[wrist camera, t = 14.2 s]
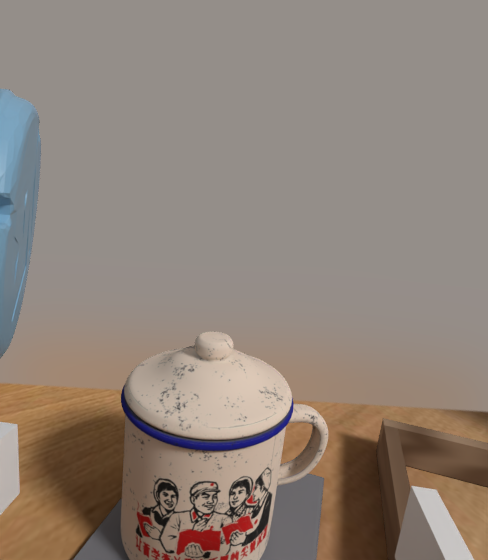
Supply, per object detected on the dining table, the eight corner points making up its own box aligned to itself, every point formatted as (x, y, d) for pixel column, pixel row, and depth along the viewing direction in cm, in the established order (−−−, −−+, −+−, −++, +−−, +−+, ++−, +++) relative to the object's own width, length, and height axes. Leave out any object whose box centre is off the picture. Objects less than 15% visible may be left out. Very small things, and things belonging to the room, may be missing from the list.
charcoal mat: (60, 582, 18) (59, 576, 18) (170, 439, 30) (171, 434, 30) (303, 685, 15) (304, 678, 15) (323, 482, 27) (324, 477, 27)
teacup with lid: (107, 619, 17) (115, 381, 14) (121, 472, 25) (128, 307, 23) (348, 578, 20) (391, 376, 17) (287, 459, 28) (310, 312, 26)
